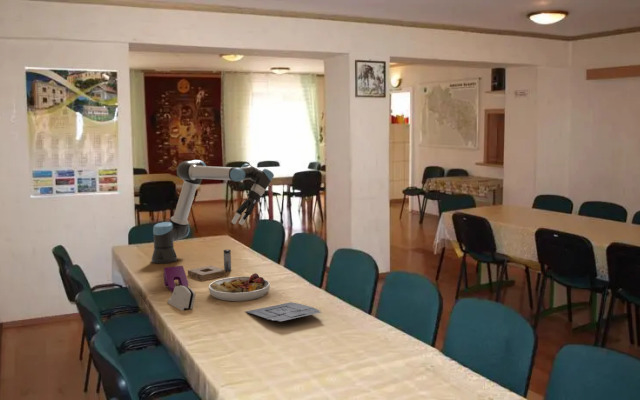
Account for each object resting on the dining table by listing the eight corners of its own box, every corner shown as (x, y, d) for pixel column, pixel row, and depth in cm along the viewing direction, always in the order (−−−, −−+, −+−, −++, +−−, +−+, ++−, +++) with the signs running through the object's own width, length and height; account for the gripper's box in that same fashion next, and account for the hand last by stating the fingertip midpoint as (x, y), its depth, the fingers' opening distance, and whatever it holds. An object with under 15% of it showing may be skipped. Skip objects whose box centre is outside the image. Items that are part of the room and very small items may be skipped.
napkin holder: (167, 302, 276) (172, 282, 277) (175, 304, 279) (181, 283, 280) (182, 311, 263) (188, 289, 264) (191, 312, 266) (197, 291, 267)
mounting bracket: (189, 301, 298) (182, 278, 312) (190, 288, 293) (182, 265, 307) (169, 303, 294) (163, 280, 308) (170, 290, 289) (164, 267, 303)
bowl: (243, 307, 269) (243, 290, 268) (196, 297, 285) (195, 281, 284) (281, 290, 294) (281, 275, 293) (236, 282, 310) (235, 268, 309)
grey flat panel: (276, 329, 236) (276, 320, 235) (245, 317, 261) (244, 309, 261) (326, 317, 249) (326, 309, 249) (291, 307, 274) (291, 300, 274)
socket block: (188, 275, 325) (187, 270, 325) (211, 270, 335) (211, 265, 335) (201, 280, 314) (201, 275, 314) (225, 275, 324) (225, 270, 324)
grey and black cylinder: (222, 270, 335) (222, 250, 333) (228, 269, 338) (228, 249, 336) (226, 271, 332) (226, 251, 331) (232, 270, 335) (231, 250, 333)
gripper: (268, 196, 331) (248, 228, 326) (253, 196, 353) (234, 226, 348) (258, 189, 328) (238, 221, 323) (243, 189, 350) (224, 219, 345)
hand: (236, 223), depth 335 cm, fingers open, 13 cm apart
